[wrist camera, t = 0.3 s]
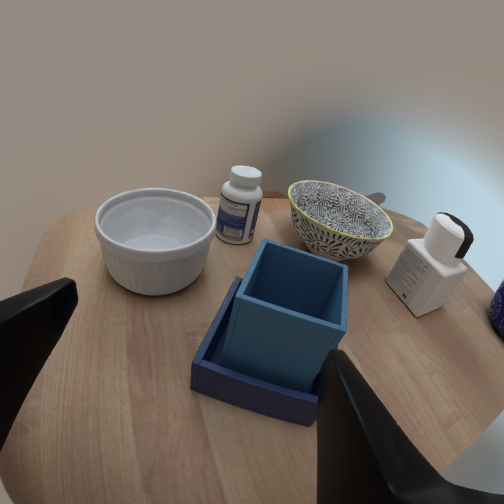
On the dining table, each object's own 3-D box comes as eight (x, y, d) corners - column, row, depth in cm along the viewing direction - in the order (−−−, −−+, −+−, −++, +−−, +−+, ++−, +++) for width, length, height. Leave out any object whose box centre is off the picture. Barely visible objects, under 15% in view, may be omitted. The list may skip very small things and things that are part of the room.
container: (413, 275, 43) (449, 207, 35) (442, 307, 37) (486, 238, 30) (384, 281, 40) (423, 204, 32) (415, 318, 34) (466, 240, 27)
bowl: (376, 297, 37) (401, 252, 32) (264, 260, 38) (278, 210, 34) (370, 238, 49) (386, 202, 45) (286, 210, 51) (297, 171, 47)
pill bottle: (238, 221, 45) (250, 162, 39) (259, 240, 42) (275, 177, 36) (207, 228, 42) (217, 164, 36) (228, 249, 39) (241, 181, 33)
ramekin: (187, 227, 41) (191, 182, 37) (229, 289, 33) (239, 238, 29) (95, 242, 34) (90, 194, 30) (112, 318, 26) (101, 263, 22)
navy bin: (309, 427, 21) (330, 406, 18) (189, 389, 22) (191, 362, 20) (324, 338, 29) (340, 309, 27) (229, 307, 31) (236, 275, 28)
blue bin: (296, 402, 22) (346, 331, 16) (217, 377, 23) (235, 296, 17) (308, 342, 28) (348, 265, 22) (241, 321, 29) (263, 237, 23)
